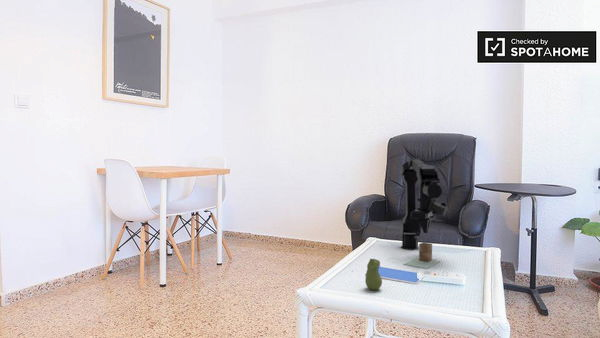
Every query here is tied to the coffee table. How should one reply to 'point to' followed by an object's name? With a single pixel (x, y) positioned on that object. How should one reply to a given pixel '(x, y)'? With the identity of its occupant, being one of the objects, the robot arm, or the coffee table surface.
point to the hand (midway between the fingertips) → (425, 232)
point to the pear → (373, 275)
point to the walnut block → (425, 252)
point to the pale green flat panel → (421, 263)
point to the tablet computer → (398, 275)
